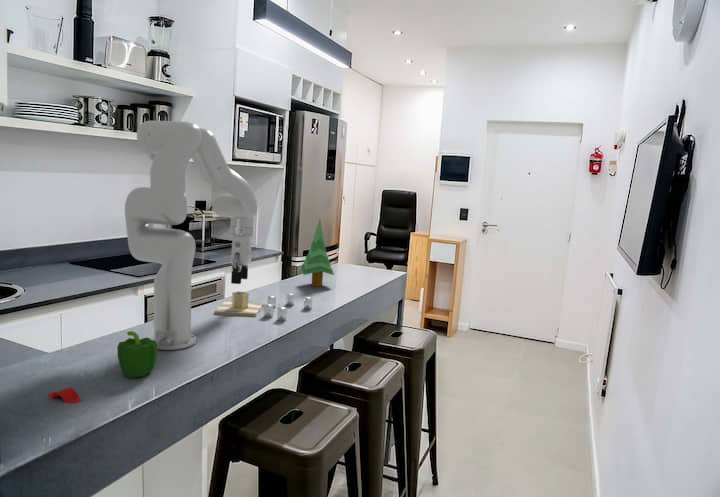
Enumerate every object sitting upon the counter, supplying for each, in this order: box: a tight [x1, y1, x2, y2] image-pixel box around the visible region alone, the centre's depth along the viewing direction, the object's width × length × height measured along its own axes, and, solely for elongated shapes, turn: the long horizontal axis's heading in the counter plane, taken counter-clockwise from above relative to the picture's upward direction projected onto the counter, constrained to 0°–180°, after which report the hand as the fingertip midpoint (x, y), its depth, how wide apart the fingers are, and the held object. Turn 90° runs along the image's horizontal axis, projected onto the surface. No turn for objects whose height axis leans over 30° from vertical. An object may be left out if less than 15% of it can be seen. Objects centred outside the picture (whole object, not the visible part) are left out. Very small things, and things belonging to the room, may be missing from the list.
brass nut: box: [231, 291, 250, 309], centre depth 176 cm, size 5×6×5 cm
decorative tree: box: [300, 218, 335, 288], centre depth 220 cm, size 14×16×30 cm
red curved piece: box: [48, 386, 82, 404], centre depth 104 cm, size 8×3×2 cm, turn 68°
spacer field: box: [263, 292, 313, 322], centre depth 177 cm, size 23×16×4 cm
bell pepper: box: [117, 330, 158, 379], centre depth 117 cm, size 8×8×10 cm
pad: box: [213, 300, 265, 317], centre depth 176 cm, size 14×14×1 cm
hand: (239, 281), depth 174 cm, fingers open, 9 cm apart
